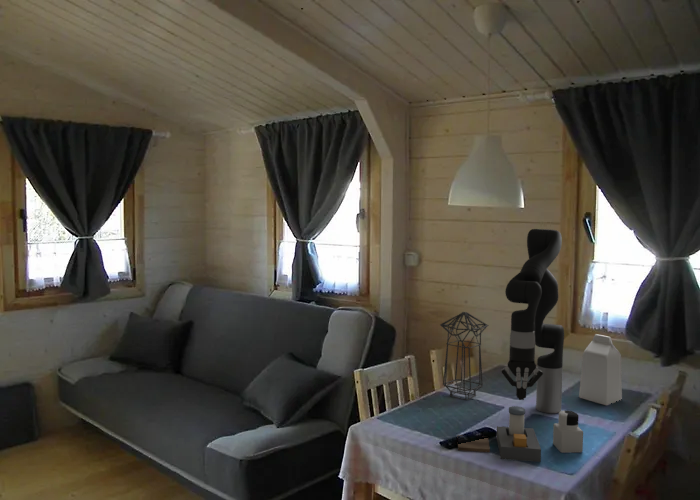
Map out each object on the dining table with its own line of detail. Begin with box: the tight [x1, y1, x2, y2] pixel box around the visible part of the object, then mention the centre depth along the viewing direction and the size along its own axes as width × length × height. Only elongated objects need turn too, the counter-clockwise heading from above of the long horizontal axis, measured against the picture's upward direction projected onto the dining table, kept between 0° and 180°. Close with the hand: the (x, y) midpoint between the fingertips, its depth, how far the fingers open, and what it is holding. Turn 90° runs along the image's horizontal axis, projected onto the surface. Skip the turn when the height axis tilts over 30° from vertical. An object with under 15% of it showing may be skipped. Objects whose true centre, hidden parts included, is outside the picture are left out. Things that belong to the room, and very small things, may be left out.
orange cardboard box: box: [513, 434, 527, 447], centre depth 187 cm, size 4×4×4 cm
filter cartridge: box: [508, 405, 526, 436], centre depth 196 cm, size 5×5×12 cm
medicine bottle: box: [552, 410, 584, 454], centre depth 193 cm, size 7×7×12 cm
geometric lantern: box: [439, 311, 489, 401], centre depth 245 cm, size 16×16×35 cm
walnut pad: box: [457, 434, 491, 453], centre depth 196 cm, size 10×10×1 cm
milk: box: [578, 333, 623, 406], centre depth 241 cm, size 12×12×26 cm
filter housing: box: [495, 425, 542, 463], centre depth 193 cm, size 17×12×4 cm
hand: (520, 399), depth 186 cm, fingers closed
